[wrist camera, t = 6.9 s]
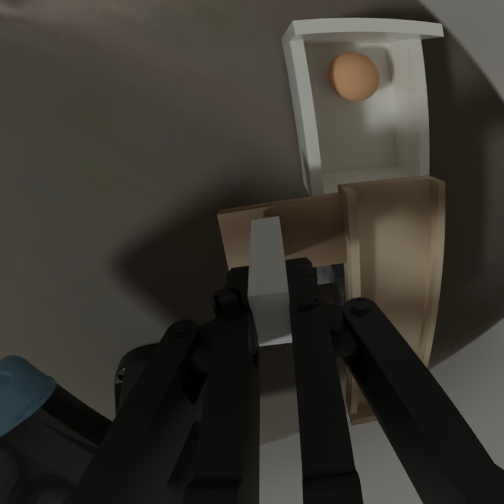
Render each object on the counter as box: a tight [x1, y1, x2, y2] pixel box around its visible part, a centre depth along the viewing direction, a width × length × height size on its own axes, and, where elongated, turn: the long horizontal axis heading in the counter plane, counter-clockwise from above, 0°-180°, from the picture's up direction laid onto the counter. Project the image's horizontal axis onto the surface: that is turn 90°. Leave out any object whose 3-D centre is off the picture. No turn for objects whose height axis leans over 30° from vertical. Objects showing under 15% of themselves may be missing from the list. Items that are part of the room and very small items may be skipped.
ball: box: [328, 52, 380, 101], centre depth 19 cm, size 4×4×4 cm
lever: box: [217, 175, 445, 425], centre depth 21 cm, size 18×13×5 cm
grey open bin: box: [281, 18, 444, 197], centre depth 19 cm, size 9×12×8 cm
